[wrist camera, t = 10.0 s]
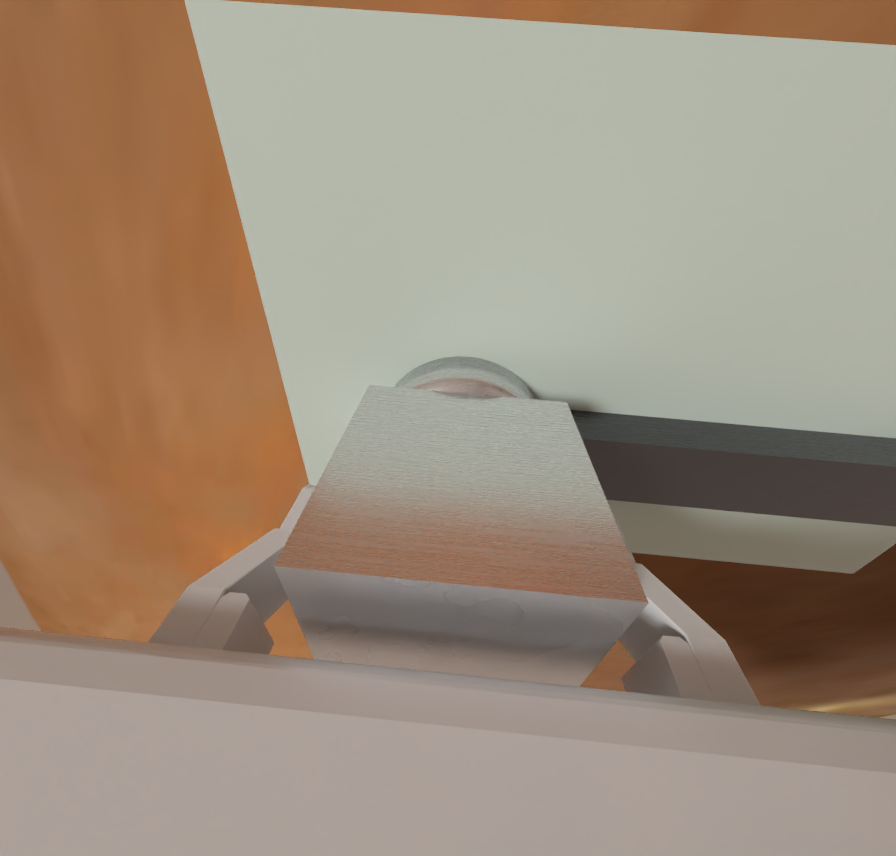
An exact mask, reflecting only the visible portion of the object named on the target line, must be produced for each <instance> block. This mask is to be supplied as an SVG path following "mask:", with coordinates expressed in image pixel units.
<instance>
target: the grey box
mask: <svg viewBox="0 0 896 856" xmlns="http://www.w3.org/2000/svg"><path fill="white" fill-rule="evenodd" d="M274 568H275V570H276V572H277V575H278V577H279V579H280V581H281V584H282V586H283V588H284V591H285V593H286V595H287V597H288V600H289V602H290V604H291V607H292V609H293V611H294V613H295V616H296V618H297V620H298V623H299V625H300V627H301V629H302V632H303V634H304V636H305V639H306V641H307V643H308V645H309V648H310V650H311V652H312V655H313V657H314V659H316V660H325V661H335V662H345V663H354V664H364V665H374V666H383V667H393V668H403V669H412V670H422V671H432V672H441V673H451V674H461V675H470V676H480V677H490V678H499V679H509V680H518V681H528V682H538V683H547V684H557V685H567V686H576V687H579V686H580V685H581V684H582V682H583V681H584V680H585V679H586V678H587V676H588V675H589V674H590V673H591V672H592V670H593V669H594V668H595V667H596V666H597V664H598V663H599V662H600V661H601V660H602V658H603V657H604V656H605V655H606V654H607V652H608V651H609V650H610V649H611V648H612V646H613V645H614V644H615V643H616V641H617V640H618V639H619V638H620V637H621V635H622V634H623V633H624V632H625V631H626V629H627V628H628V627H629V626H630V625H631V623H632V622H633V621H634V620H635V619H636V617H637V616H638V615H639V614H640V613H641V611H642V610H643V609H644V608H645V607H646V605H647V604H648V600H647V598H646V595H645V593H644V590H643V588H642V585H641V583H640V580H639V578H638V576H637V573H636V571H635V568H634V566H633V563H632V561H631V558H630V556H629V553H628V551H627V549H626V546H625V544H624V541H623V539H622V536H621V534H620V531H619V529H618V527H617V524H616V522H615V519H614V517H613V514H612V512H611V509H610V507H609V504H608V502H607V500H606V497H605V495H604V492H603V490H602V487H601V485H600V482H599V480H598V477H597V475H596V473H595V470H594V468H593V465H592V463H591V460H590V458H589V455H588V453H587V450H586V448H585V446H584V443H583V441H582V438H581V436H580V433H579V431H578V428H577V426H576V423H575V421H574V419H573V416H572V414H571V411H570V409H569V406H568V404H567V402H559V401H547V400H536V399H524V398H513V397H501V396H490V395H479V394H467V393H456V392H444V391H433V390H422V389H410V388H399V387H387V386H376V385H369V386H368V388H367V390H366V392H365V394H364V396H363V397H362V399H361V401H360V403H359V405H358V407H357V409H356V411H355V413H354V415H353V416H352V418H351V420H350V422H349V424H348V426H347V428H346V430H345V432H344V434H343V435H342V437H341V439H340V441H339V443H338V445H337V447H336V449H335V451H334V453H333V454H332V456H331V458H330V460H329V462H328V464H327V466H326V468H325V470H324V472H323V473H322V475H321V477H320V479H319V481H318V483H317V485H316V487H315V489H314V491H313V492H312V494H311V496H310V498H309V500H308V502H307V504H306V506H305V508H304V509H303V511H302V513H301V515H300V517H299V519H298V521H297V523H296V525H295V527H294V528H293V530H292V532H291V534H290V536H289V538H288V540H287V542H286V544H285V546H284V547H283V549H282V551H281V553H280V555H279V557H278V559H277V561H276V563H275V565H274Z"/></svg>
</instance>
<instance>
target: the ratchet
mask: <svg viewBox="0 0 896 856" xmlns="http://www.w3.org/2000/svg"><path fill="white" fill-rule="evenodd" d="M394 387H399V388H410V389H422V390H433V391H444V392H456V393H467V394H479V395H490V396H501V397H513V398H524V399H536V398H535V396H534V394H533V392H532V391H531V390H530V388H529V387H528V386H527V384H526V383H525V382H524V381H523V380H522V379H521V378H520V377H518V376H517V375H516V374H514V373H513V372H512V371H510V370H508V369H507V368H505V367H503V366H501V365H499V364H496V363H494V362H492V361H488V360H484V359H481V358H474V357H461V356H456V357H445V358H441V359H436V360H433V361H430V362H427V363H424V364H422V365H420V366H418V367H416V368H414V369H413V370H411V371H410V372H409V373H407V374H406V375H405V376H404V377H402V378H401V379H400V380H399V381H398V382H397V384H396V385H395V386H394ZM570 411H571V414H572V416H573V419H574V421H575V423H576V426H577V428H578V431H579V433H580V436H581V438H582V441H583V443H584V446H585V448H586V450H587V453H588V455H589V458H590V460H591V463H592V465H593V468H594V470H595V473H596V475H597V477H598V480H599V482H600V485H601V487H602V490H603V492H604V495H605V497H606V500H615V501H626V502H636V503H647V504H658V505H669V506H679V507H690V508H701V509H712V510H722V511H733V512H744V513H755V514H765V515H776V516H787V517H798V518H809V519H819V520H830V521H841V522H852V523H862V524H873V525H884V526H895V527H896V438H886V437H875V436H864V435H852V434H841V433H829V432H818V431H807V430H795V429H784V428H773V427H761V426H750V425H739V424H727V423H716V422H705V421H693V420H682V419H671V418H659V417H648V416H636V415H625V414H614V413H602V412H591V411H580V410H570Z"/></svg>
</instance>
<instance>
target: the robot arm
mask: <svg viewBox="0 0 896 856" xmlns="http://www.w3.org/2000/svg"><path fill="white" fill-rule="evenodd" d="M315 487H316V485H308V484H307V485H306V486H305V487H304V488H302V490H301V492H300V494H299V495H298V497H297V499H296V501H295V502H294V504H293V506H292V508H291V509H290V511H289V513H288V515H287V516H286V518H285V520H284V522H283V523H282V525H281V527H280V529H275V528H274V529H273V530H271V531H270V532H268V533H267V534H265V535H264V536H262V537H261V538H259V539H258V540H256V541H255V542H253V543H252V544H250V545H249V546H247V547H246V548H244V549H243V550H241V551H240V552H238V553H237V554H235V555H234V556H232V557H231V558H229V559H228V560H226V561H225V562H223V563H222V564H221V565H219V566H218V567H216V568H215V569H213V570H212V571H210V572H209V573H207V574H206V575H204V576H203V577H201V578H200V579H198V580H197V581H195V582H194V583H192V584H191V585H189V586H188V587H187V589H186V590H185V591H184V593H183V594H182V596H181V597H180V598H179V600H178V601H177V602H176V604H175V605H174V607H173V608H172V609H171V611H170V612H169V614H168V615H167V616H166V618H165V619H164V621H163V622H162V623H161V625H160V626H159V628H158V629H157V630H156V632H155V633H154V635H153V636H152V637H151V639H150V640H149V642H141V641H131V640H122V639H112V638H102V637H93V636H83V635H73V634H64V633H54V632H44V631H34V630H24V629H15V628H4V627H0V856H896V720H894V719H885V718H875V717H866V716H856V715H846V714H837V713H827V712H817V711H808V710H798V709H788V708H779V707H769V706H761V705H760V703H759V701H758V700H757V698H756V696H755V694H754V692H753V690H752V688H751V687H750V685H749V683H748V681H747V679H746V677H745V676H744V674H743V672H742V670H741V668H740V666H739V664H738V663H737V661H736V659H735V657H734V655H733V653H732V652H731V650H730V648H729V646H728V644H727V642H726V640H724V639H723V638H722V637H721V636H720V635H719V634H718V633H717V632H716V631H715V630H713V629H712V628H711V627H710V626H709V625H708V624H707V623H706V622H705V621H704V620H703V619H701V618H700V617H699V616H698V615H697V614H696V613H695V612H694V611H693V610H692V609H690V608H689V607H688V606H687V605H686V604H685V603H684V602H683V601H682V600H681V599H680V598H678V597H677V596H676V595H675V594H674V593H673V592H672V591H671V590H670V589H669V588H667V587H666V586H665V585H664V584H663V583H662V582H661V581H660V580H659V579H658V578H656V577H655V576H654V575H653V574H652V573H651V572H650V571H649V570H648V569H647V568H646V567H644V566H643V565H642V564H639V563H636V562H635V559H634V557H633V555H632V552H631V550H630V548H629V545H628V543H627V541H626V538H625V536H624V534H623V531H622V529H621V527H620V524H619V522H618V520H617V517H616V516H615V515H614V514H613V513H612V514H613V517H614V519H615V522H616V524H617V527H618V529H619V531H620V534H621V536H622V539H623V541H624V544H625V546H626V549H627V551H628V553H629V556H630V558H631V561H632V563H633V566H634V568H635V571H636V573H637V576H638V578H639V580H640V583H641V585H642V588H643V590H644V593H645V595H646V598H647V600H648V604H647V605H646V607H645V608H644V609H643V610H642V611H641V613H640V614H639V615H638V616H637V617H636V619H635V620H634V621H633V622H632V623H631V625H630V626H629V627H628V628H627V629H626V631H625V632H624V633H623V634H622V635H621V637H620V638H619V640H620V641H621V643H622V644H623V645H624V647H625V648H626V649H627V651H628V652H629V653H630V655H631V656H632V657H633V659H634V660H635V661H636V663H635V664H634V665H633V666H632V667H631V668H630V669H629V670H628V671H627V672H626V673H625V675H624V676H623V677H622V681H623V685H624V688H625V691H615V690H605V689H596V688H586V687H576V686H567V685H557V684H547V683H538V682H528V681H518V680H509V679H499V678H490V677H480V676H470V675H461V674H451V673H441V672H432V671H422V670H412V669H403V668H393V667H383V666H374V665H364V664H354V663H345V662H335V661H325V660H316V659H306V658H296V657H287V656H277V655H269V653H270V651H271V649H272V646H273V644H274V642H273V639H272V637H271V635H270V633H269V632H268V630H267V628H266V627H265V625H264V622H265V621H266V620H267V619H268V618H269V617H270V616H272V615H273V614H274V613H275V612H276V611H277V610H278V609H279V608H280V607H281V606H282V605H283V604H284V603H285V602H286V601H287V600H288V597H287V595H286V593H285V591H284V588H283V586H282V584H281V581H280V579H279V577H278V575H277V572H276V570H275V568H274V565H275V563H276V561H277V559H278V557H279V555H280V553H281V551H282V549H283V547H284V546H285V544H286V542H287V540H288V538H289V536H290V534H291V532H292V530H293V528H294V527H295V525H296V523H297V521H298V519H299V517H300V515H301V513H302V511H303V509H304V508H305V506H306V504H307V502H308V500H309V498H310V496H311V494H312V492H313V491H314V489H315Z"/></svg>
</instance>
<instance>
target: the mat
mask: <svg viewBox="0 0 896 856" xmlns="http://www.w3.org/2000/svg"><path fill="white" fill-rule="evenodd" d="M185 4H186V8H187V12H188V16H189V20H190V24H191V28H192V31H193V35H194V39H195V43H196V47H197V51H198V55H199V58H200V62H201V66H202V70H203V74H204V78H205V82H206V86H207V89H208V93H209V97H210V101H211V105H212V109H213V113H214V117H215V120H216V124H217V128H218V132H219V136H220V140H221V144H222V147H223V151H224V155H225V159H226V163H227V167H228V171H229V175H230V178H231V182H232V186H233V190H234V194H235V198H236V202H237V206H238V209H239V213H240V217H241V221H242V225H243V229H244V233H245V236H246V240H247V244H248V248H249V252H250V256H251V260H252V264H253V267H254V271H255V275H256V279H257V283H258V287H259V291H260V294H261V298H262V302H263V306H264V310H265V314H266V318H267V322H268V325H269V329H270V333H271V337H272V341H273V345H274V349H275V353H276V356H277V360H278V364H279V368H280V372H281V376H282V380H283V383H284V387H285V391H286V395H287V399H288V403H289V407H290V411H291V414H292V418H293V422H294V426H295V430H296V434H297V438H298V442H299V445H300V449H301V453H302V457H303V461H304V465H305V469H306V472H307V476H308V480H309V484H310V485H317V483H318V481H319V479H320V477H321V475H322V473H323V472H324V470H325V468H326V466H327V464H328V462H329V460H330V458H331V456H332V454H333V453H334V451H335V449H336V447H337V445H338V443H339V441H340V439H341V437H342V435H343V434H344V432H345V430H346V428H347V426H348V424H349V422H350V420H351V418H352V416H353V415H354V413H355V411H356V409H357V407H358V405H359V403H360V401H361V399H362V397H363V396H364V394H365V392H366V390H367V388H368V386H369V385H376V386H387V387H394V386H395V385H396V384H397V382H398V381H399V380H400V379H401V378H402V377H404V376H405V375H406V374H407V373H409V372H410V371H411V370H413V369H414V368H416V367H418V366H420V365H422V364H424V363H427V362H430V361H433V360H436V359H441V358H445V357H456V356H461V357H474V358H481V359H484V360H488V361H492V362H494V363H496V364H499V365H501V366H503V367H505V368H507V369H508V370H510V371H512V372H513V373H514V374H516V375H517V376H518V377H520V378H521V379H522V380H523V381H524V382H525V383H526V384H527V386H528V387H529V388H530V390H531V391H532V392H533V394H534V396H535V398H536V400H547V401H559V402H567V404H568V406H569V409H570V410H580V411H591V412H602V413H614V414H625V415H636V416H648V417H659V418H671V419H682V420H693V421H705V422H716V423H727V424H739V425H750V426H761V427H773V428H784V429H795V430H807V431H818V432H829V433H841V434H852V435H864V436H875V437H886V438H896V45H883V44H868V43H853V42H838V41H823V40H808V39H793V38H778V37H763V36H748V35H733V34H718V33H703V32H688V31H673V30H658V29H643V28H628V27H613V26H598V25H583V24H568V23H553V22H538V21H522V20H507V19H492V18H477V17H462V16H447V15H432V14H417V13H402V12H387V11H372V10H357V9H342V8H327V7H312V6H297V5H282V4H267V3H252V2H237V1H222V0H185ZM607 502H608V504H609V507H610V509H611V512H612V513H613V514H614V515H615V516H616V517H617V520H618V522H619V524H620V527H621V529H622V531H623V534H624V536H625V538H626V541H627V543H628V545H629V548H630V550H631V552H632V553H641V554H652V555H662V556H672V557H683V558H693V559H704V560H714V561H725V562H735V563H746V564H756V565H766V566H777V567H787V568H798V569H808V570H819V571H829V572H840V573H850V574H854V573H855V572H856V571H858V570H859V569H861V568H862V567H864V566H865V565H866V564H868V563H869V562H871V561H872V560H873V559H875V558H876V557H878V556H879V555H880V554H882V553H883V552H885V551H886V550H887V549H889V548H890V547H892V546H893V545H895V544H896V527H895V526H884V525H873V524H862V523H852V522H841V521H830V520H819V519H809V518H798V517H787V516H776V515H765V514H755V513H744V512H733V511H722V510H712V509H701V508H690V507H679V506H669V505H658V504H647V503H636V502H626V501H615V500H607Z"/></svg>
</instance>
